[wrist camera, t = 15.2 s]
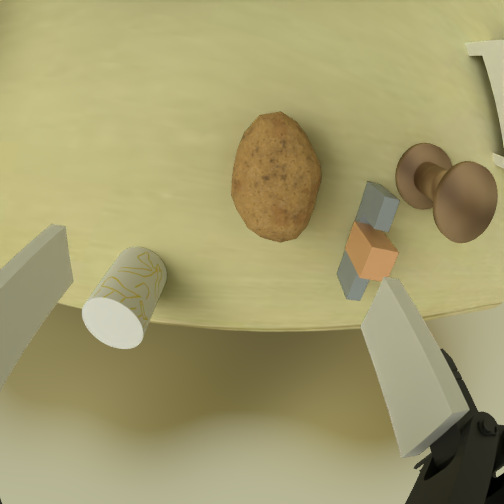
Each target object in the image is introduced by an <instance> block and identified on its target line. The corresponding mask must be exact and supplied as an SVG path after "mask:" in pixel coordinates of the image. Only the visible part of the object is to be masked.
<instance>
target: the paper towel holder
mask: <svg viewBox="0 0 504 504" xmlns="http://www.w3.org/2000/svg"><path fill="white" fill-rule="evenodd" d="M465 46H466V49H467V52H468V54H469V56H481V55H482V57H483V60H484V63H485V66H486V69H487V73H488V76H489V79H490V83H491V87H492V91H493V95H494V99H495V103H496V107H497V112H498V117H499V122H500V127H501V133H502V139H503V146H504V39H499V40H486V41H477V42H469V43H465ZM493 159H494V165H497V166H499V167H501V168H503V169H504V157H502V156H500V155H498V154H495V153H493Z"/></svg>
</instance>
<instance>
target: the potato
mask: <svg viewBox="0 0 504 504" xmlns="http://www.w3.org/2000/svg"><path fill="white" fill-rule="evenodd" d="M320 183H321V166H320V163H319V160H318V158H317V156H316V154H315V152H314V150H313V148H312V146H311V144H310V142H309V139H308V137H307V135H306V134H305V133H304V131H303V130H302V128H301V127H300V126H299V124H298V123H297V122H296V121H295V120H293V119H292V118H290V117H288V116H287V115H285V114H284V113H282V112H276V113H270V114H264V115H259V117H258V118H257V119H256V120H255V121H254V122H253V123H252V124H251V126H250V127H249V128H248V129H247V130H246V131H245V132H244V135H243V137H242V139H241V142H240V144H239V147H238V149H237V154H236V158H235V163H234V167H233V175H232V191H231V196H232V198H233V201H234V203H235V206H236V209H237V211H238V212H239V214H240V215H241V217H242V219H243V220H244V222H245V224H246V226H247V227H248V228H249V229H250V230H252V231H253V232H255V233H256V234H257V235H259V236H260V237H262V238H265V239H269V240H273V241H277V242H283V241H288V240H292V239H296V238H297V237H298V236H299V235H300V234H301V232H302V231H303V230H304V229H305V228H306V226H307V225H308V222H309V220H310V217H311V215H312V212H313V209H314V206H315V202H316V197H317V193H318V190H319V186H320Z"/></svg>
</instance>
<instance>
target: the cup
mask: <svg viewBox="0 0 504 504" xmlns="http://www.w3.org/2000/svg"><path fill="white" fill-rule="evenodd" d="M166 280H167V270H166V267H165V265H164V263H163V261H162V260H161V259H160V257H159V256H158V255H156V254H155V253H154V252H152V251H151V250H148V249H146V248H143V247H130V248H127V249H125V250H124V251H122V252H121V254H120V255H119V256H118V257H117V259H116V260H115V262H114V263H113V264H112V266H111V267H110V268H109V270H108V271H107V273H106V274H105V275H104V277H103V278H102V280H101V281H100V282H99V284H98V285H97V287H96V288H95V290H94V291H93V292H92V294H91V295H90V297H89V298H88V300H87V301H86V303H85V304H84V306H83V309H82V317H83V320H84V323H85V325H86V327H87V328H88V330H89V331H90V332H91V333H92V334H93V335H94V336H95V337H96V338H97V339H98V340H100V341H101V342H103V343H105V344H107V345H109V346H112V347H115V348H120V349H129V348H133V347H136V346H137V345H138V344H140V342H141V341H142V338H143V336H144V333H145V331H146V328H147V326H148V324H149V321H150V319H151V316H152V314H153V311H154V309H155V306H156V304H157V302H158V299H159V297H160V295H161V292H162V290H163V288H164V285H165V283H166Z"/></svg>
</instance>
